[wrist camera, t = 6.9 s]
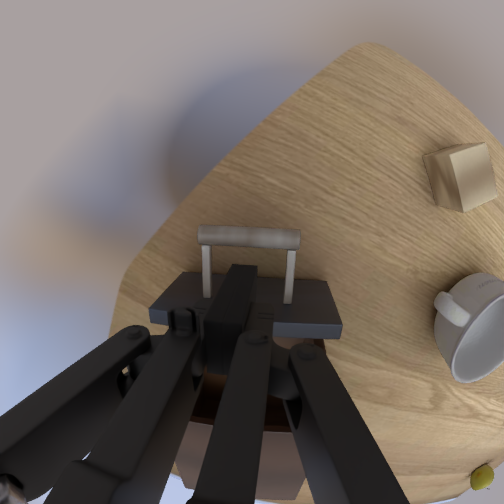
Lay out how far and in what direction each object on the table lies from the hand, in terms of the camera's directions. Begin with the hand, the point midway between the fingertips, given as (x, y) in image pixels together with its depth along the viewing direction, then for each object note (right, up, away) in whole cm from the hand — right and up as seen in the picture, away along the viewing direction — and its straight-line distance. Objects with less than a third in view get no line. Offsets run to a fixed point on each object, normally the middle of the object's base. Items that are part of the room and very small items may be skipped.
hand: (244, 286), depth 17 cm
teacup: (+23, -4, +8) cm, 25 cm away
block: (+20, +10, +5) cm, 22 cm away
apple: (+67, -62, +20) cm, 94 cm away
